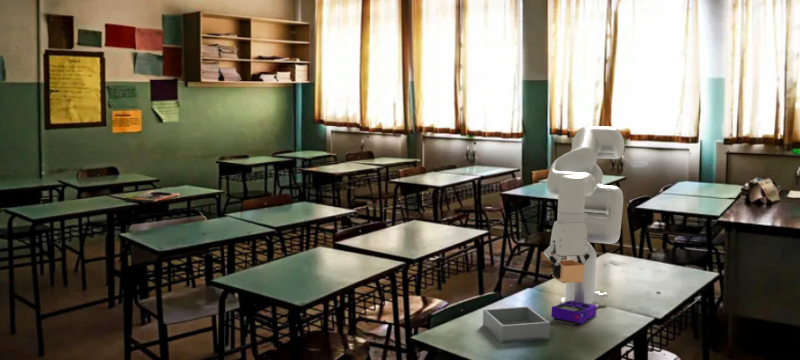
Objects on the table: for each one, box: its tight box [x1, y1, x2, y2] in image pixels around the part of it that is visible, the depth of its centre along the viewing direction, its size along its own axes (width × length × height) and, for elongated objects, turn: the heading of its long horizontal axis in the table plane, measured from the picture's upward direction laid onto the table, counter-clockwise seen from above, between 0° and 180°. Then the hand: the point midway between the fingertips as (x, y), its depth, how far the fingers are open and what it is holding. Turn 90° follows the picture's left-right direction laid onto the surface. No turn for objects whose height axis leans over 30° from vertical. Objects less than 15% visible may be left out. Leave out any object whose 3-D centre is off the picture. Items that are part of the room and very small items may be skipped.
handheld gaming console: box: [550, 301, 598, 326], centre depth 217 cm, size 9×5×15 cm
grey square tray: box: [482, 305, 551, 344], centre depth 203 cm, size 15×15×5 cm
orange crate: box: [552, 259, 584, 284], centre depth 200 cm, size 7×7×5 cm
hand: (567, 276), depth 201 cm, fingers closed on orange crate, 6 cm apart
